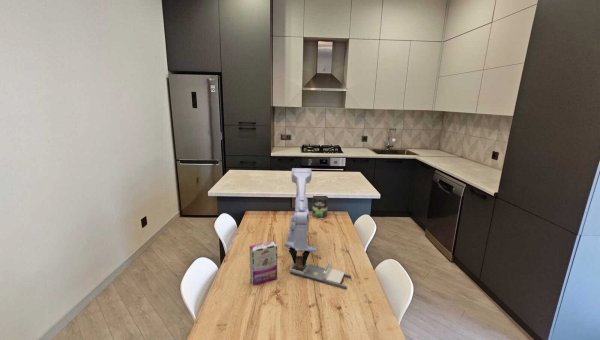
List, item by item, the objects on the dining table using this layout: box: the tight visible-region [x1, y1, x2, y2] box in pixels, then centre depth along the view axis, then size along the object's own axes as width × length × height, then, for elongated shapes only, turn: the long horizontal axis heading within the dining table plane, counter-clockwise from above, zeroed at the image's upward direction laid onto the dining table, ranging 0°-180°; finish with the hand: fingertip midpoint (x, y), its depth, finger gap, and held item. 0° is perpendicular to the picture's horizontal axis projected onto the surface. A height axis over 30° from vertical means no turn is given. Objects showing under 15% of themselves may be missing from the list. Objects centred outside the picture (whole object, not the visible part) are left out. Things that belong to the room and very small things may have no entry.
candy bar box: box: [249, 240, 278, 286], centre depth 122 cm, size 11×5×16 cm, turn 117°
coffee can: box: [311, 195, 329, 220], centre depth 192 cm, size 10×10×14 cm
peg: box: [296, 255, 303, 271], centre depth 129 cm, size 4×4×6 cm
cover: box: [323, 262, 346, 285], centre depth 124 cm, size 8×9×4 cm
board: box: [289, 263, 352, 290], centre depth 127 cm, size 27×9×2 cm, turn 68°
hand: (299, 263), depth 129 cm, fingers open, 4 cm apart
